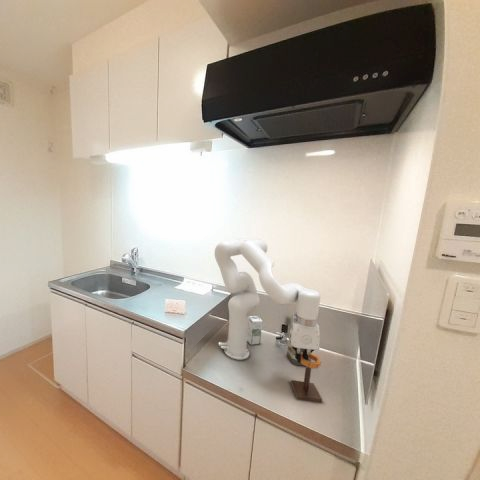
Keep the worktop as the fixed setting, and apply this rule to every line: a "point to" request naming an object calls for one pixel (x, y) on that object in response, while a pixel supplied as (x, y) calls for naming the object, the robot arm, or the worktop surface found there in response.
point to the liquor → (291, 355)
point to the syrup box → (254, 330)
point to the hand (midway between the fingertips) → (301, 360)
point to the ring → (311, 364)
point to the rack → (306, 388)
